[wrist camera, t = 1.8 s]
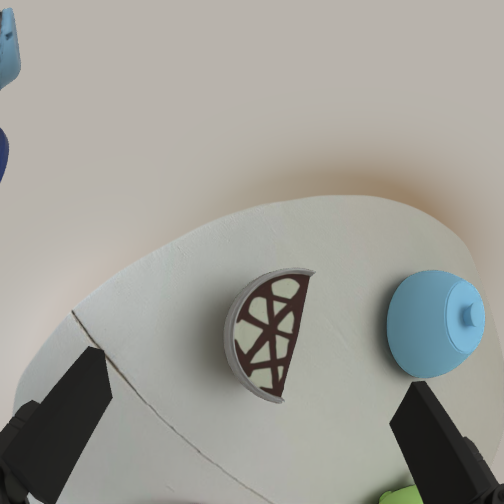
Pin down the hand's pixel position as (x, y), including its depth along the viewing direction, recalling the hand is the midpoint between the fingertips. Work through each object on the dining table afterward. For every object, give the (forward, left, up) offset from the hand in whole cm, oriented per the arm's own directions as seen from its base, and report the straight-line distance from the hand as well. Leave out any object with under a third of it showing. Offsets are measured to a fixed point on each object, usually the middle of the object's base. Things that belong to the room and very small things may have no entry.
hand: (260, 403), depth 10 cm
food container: (0, +5, -21) cm, 22 cm away
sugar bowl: (+22, +17, -21) cm, 35 cm away
